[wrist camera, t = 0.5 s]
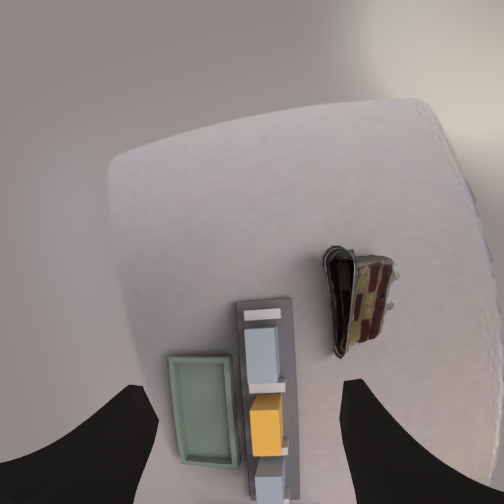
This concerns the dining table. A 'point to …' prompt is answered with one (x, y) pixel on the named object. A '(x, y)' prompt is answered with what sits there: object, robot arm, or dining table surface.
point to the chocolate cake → (357, 294)
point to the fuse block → (272, 386)
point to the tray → (205, 410)
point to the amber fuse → (267, 425)
